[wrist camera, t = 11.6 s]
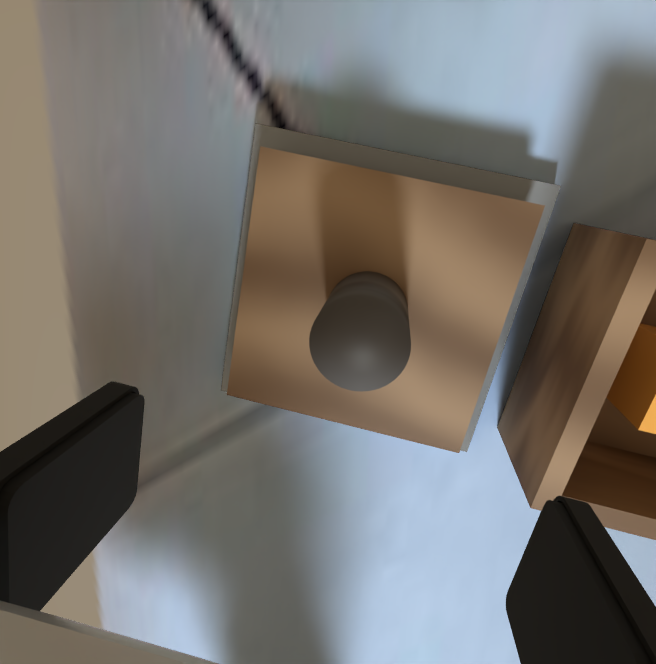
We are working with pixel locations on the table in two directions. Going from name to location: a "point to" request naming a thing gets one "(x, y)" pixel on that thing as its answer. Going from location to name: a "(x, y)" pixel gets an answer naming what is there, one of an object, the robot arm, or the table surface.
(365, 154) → the mat
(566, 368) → the storage box
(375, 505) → the table surface
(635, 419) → the block
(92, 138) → the table surface
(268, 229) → the lid
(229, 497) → the table surface
